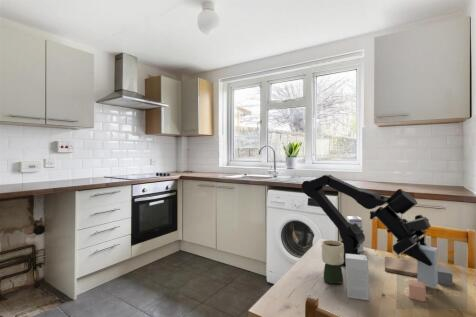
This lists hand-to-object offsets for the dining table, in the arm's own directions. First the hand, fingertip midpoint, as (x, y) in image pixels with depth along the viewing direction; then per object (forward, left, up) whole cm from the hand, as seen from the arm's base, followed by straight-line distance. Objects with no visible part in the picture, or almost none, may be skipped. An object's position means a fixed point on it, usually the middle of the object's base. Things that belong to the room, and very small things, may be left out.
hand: (432, 262), depth 80 cm
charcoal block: (+4, +7, -8) cm, 12 cm away
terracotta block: (-5, -8, -8) cm, 12 cm away
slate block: (-1, 0, -7) cm, 7 cm away
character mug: (-28, -10, -8) cm, 31 cm away
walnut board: (-7, +13, -8) cm, 17 cm away
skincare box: (-20, -16, -8) cm, 27 cm away
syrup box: (-25, +26, -8) cm, 38 cm away
